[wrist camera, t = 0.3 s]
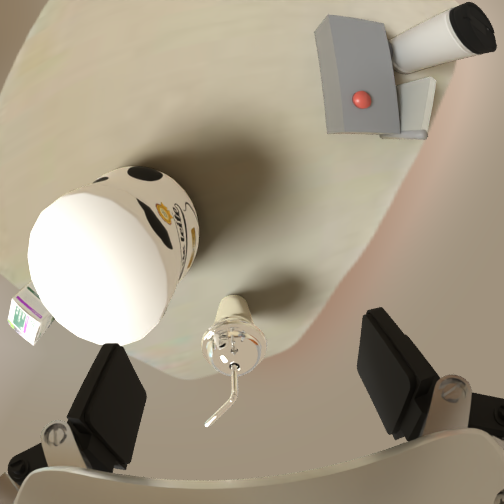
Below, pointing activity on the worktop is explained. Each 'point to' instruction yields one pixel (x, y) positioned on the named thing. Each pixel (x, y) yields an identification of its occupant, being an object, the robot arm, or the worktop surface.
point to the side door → (414, 108)
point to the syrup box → (29, 314)
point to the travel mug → (443, 39)
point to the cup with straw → (233, 345)
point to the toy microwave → (357, 76)
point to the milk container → (114, 253)
